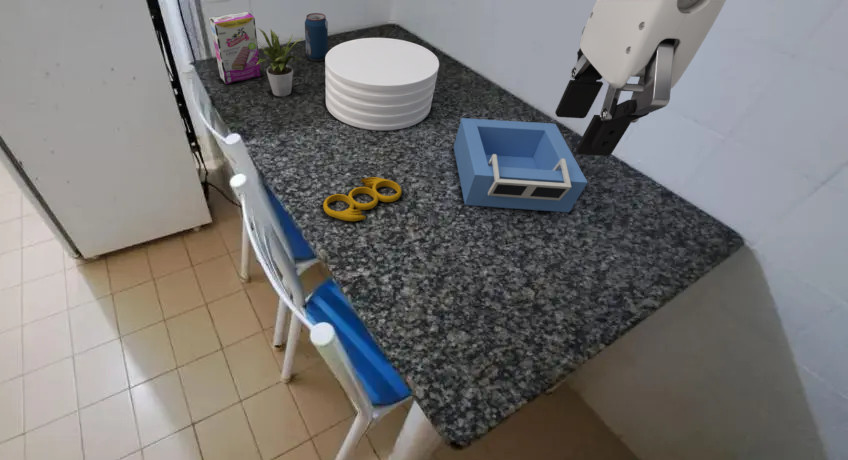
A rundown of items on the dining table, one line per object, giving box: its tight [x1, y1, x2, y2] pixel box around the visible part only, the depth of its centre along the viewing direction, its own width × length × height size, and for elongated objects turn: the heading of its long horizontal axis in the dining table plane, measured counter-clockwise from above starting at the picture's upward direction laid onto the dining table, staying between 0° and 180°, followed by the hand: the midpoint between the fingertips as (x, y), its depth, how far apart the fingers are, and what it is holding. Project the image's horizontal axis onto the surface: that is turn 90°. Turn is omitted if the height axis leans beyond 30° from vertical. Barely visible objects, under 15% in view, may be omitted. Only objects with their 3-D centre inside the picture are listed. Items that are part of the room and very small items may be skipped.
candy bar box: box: [208, 11, 262, 85], centre depth 108 cm, size 11×5×16 cm, turn 122°
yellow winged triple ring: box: [322, 176, 402, 222], centre depth 77 cm, size 17×2×10 cm
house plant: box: [250, 27, 305, 97], centre depth 102 cm, size 14×14×16 cm
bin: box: [453, 117, 588, 213], centre depth 80 cm, size 20×20×8 cm
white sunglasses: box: [488, 154, 571, 200], centre depth 73 cm, size 6×13×4 cm, turn 85°
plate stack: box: [324, 37, 440, 131], centre depth 100 cm, size 28×28×12 cm
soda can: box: [304, 12, 329, 62], centre depth 120 cm, size 7×7×12 cm
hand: (580, 132), depth 41 cm, fingers open, 6 cm apart
